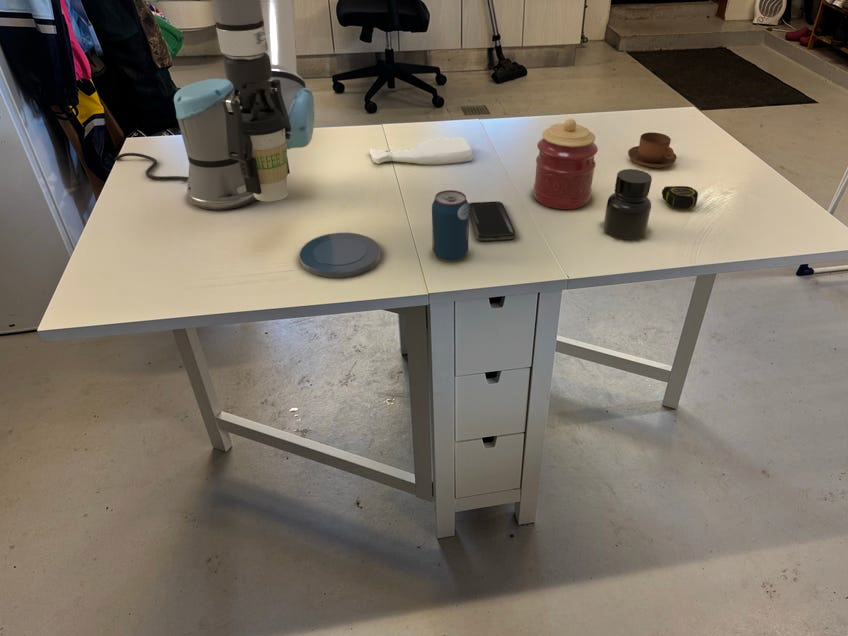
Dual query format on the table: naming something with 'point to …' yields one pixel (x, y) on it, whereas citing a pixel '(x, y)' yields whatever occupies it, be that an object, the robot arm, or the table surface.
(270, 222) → the table surface
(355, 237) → the plate
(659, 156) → the cup and saucer
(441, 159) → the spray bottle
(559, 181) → the kitchen canister
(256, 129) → the coffee cup
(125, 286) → the table surface
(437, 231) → the soda can
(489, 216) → the phone
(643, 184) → the ink bottle
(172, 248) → the table surface
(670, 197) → the tape measure
